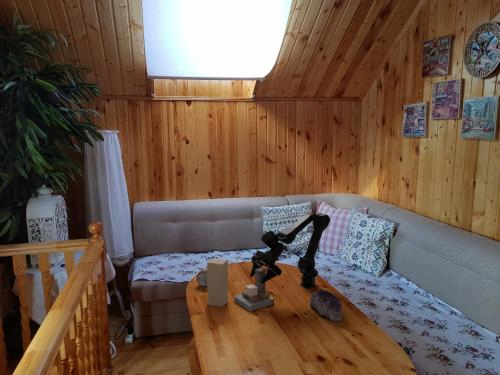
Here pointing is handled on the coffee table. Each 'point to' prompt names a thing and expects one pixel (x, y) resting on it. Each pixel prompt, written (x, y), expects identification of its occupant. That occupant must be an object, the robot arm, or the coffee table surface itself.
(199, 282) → the tin
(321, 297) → the geode
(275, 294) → the coffee table surface
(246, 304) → the dock
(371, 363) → the coffee table surface
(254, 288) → the box
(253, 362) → the coffee table surface
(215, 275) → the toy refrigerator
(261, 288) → the grey column with base
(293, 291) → the coffee table surface
